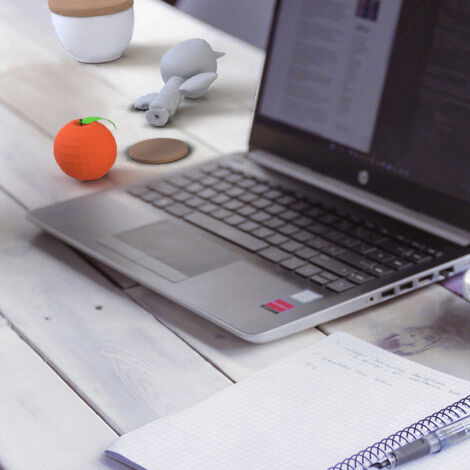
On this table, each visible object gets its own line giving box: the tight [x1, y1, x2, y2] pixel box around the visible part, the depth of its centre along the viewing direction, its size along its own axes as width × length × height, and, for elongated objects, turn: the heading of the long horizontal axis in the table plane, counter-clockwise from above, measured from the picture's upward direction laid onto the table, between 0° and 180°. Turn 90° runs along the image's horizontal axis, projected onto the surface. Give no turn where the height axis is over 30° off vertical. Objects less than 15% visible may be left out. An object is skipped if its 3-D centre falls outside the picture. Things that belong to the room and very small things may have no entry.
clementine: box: [52, 116, 118, 182], centre depth 107 cm, size 8×7×7 cm
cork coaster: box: [128, 137, 189, 164], centre depth 115 cm, size 7×7×1 cm
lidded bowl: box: [47, 0, 135, 64], centre depth 146 cm, size 13×13×11 cm
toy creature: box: [134, 37, 227, 127], centre depth 129 cm, size 13×7×20 cm
